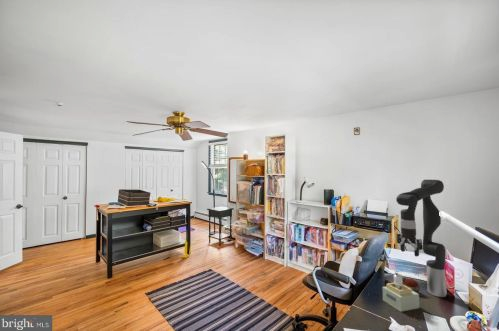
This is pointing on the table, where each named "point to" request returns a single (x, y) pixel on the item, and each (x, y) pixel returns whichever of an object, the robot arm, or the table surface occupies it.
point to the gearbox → (400, 297)
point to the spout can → (398, 281)
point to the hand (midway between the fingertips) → (409, 253)
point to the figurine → (407, 283)
